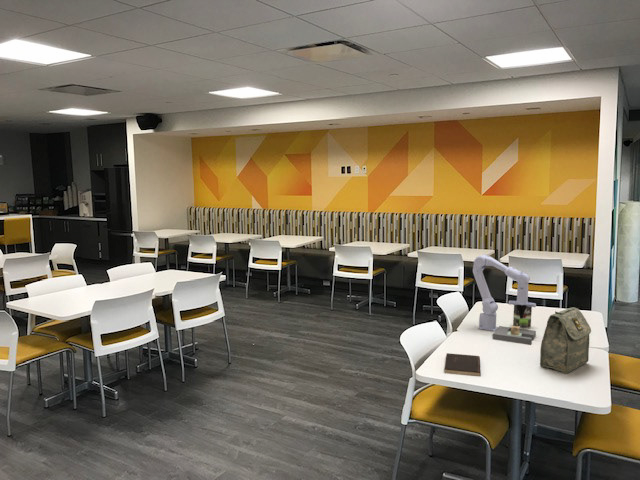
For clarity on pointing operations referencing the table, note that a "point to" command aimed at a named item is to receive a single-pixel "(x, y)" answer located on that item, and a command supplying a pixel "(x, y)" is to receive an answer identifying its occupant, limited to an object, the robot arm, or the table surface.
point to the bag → (565, 341)
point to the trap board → (506, 335)
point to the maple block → (515, 330)
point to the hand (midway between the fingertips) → (521, 317)
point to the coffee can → (522, 322)
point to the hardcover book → (462, 364)
